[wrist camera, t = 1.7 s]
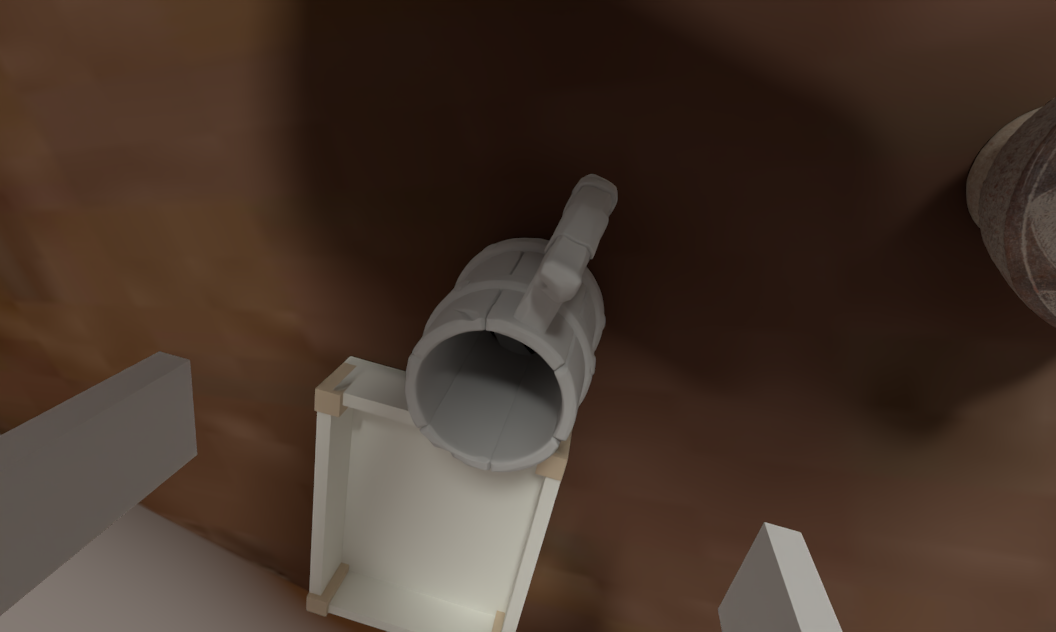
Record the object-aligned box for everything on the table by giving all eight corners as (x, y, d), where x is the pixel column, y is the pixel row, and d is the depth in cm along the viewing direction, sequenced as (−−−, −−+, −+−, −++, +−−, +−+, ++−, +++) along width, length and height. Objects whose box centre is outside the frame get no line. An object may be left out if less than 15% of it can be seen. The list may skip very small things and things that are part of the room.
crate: (350, 356, 30) (315, 388, 27) (574, 417, 29) (567, 459, 26) (335, 563, 37) (306, 610, 34) (514, 619, 36) (503, 673, 33)
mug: (440, 326, 29) (327, 464, 18) (536, 123, 24) (461, 140, 13) (561, 390, 29) (523, 565, 18) (680, 202, 24) (728, 285, 13)
